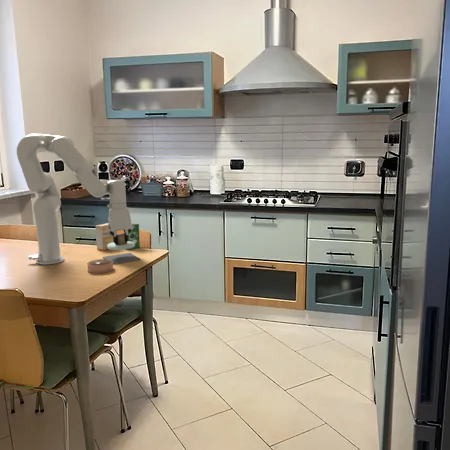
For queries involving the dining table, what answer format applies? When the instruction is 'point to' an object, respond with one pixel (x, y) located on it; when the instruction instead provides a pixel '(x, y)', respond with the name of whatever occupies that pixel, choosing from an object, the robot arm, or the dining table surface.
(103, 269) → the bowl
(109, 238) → the supplement box
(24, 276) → the dining table surface
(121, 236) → the lid
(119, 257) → the mat
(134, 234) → the coffee box
